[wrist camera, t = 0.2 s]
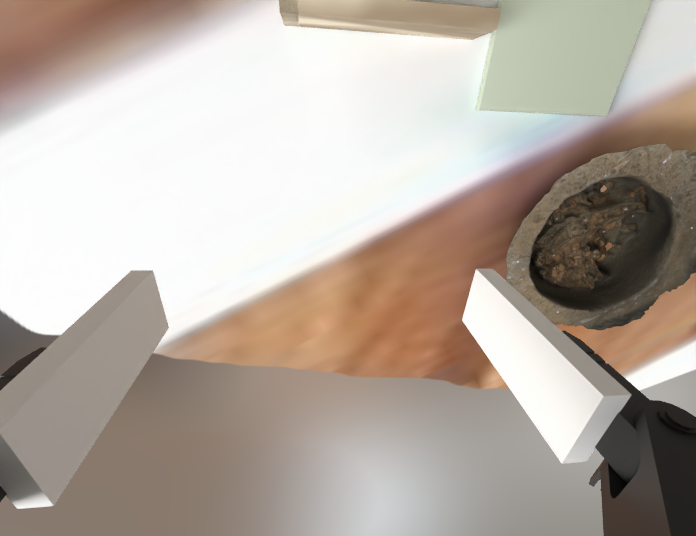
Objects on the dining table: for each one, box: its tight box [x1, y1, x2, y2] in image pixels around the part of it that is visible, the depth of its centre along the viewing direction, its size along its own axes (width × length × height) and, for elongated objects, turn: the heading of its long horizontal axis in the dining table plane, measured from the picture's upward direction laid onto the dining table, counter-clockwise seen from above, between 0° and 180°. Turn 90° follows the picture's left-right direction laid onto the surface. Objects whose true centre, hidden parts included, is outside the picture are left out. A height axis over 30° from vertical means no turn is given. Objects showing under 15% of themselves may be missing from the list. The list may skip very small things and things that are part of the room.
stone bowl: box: [506, 144, 696, 330], centre depth 41 cm, size 25×25×9 cm
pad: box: [476, 0, 652, 116], centre depth 33 cm, size 16×16×1 cm
